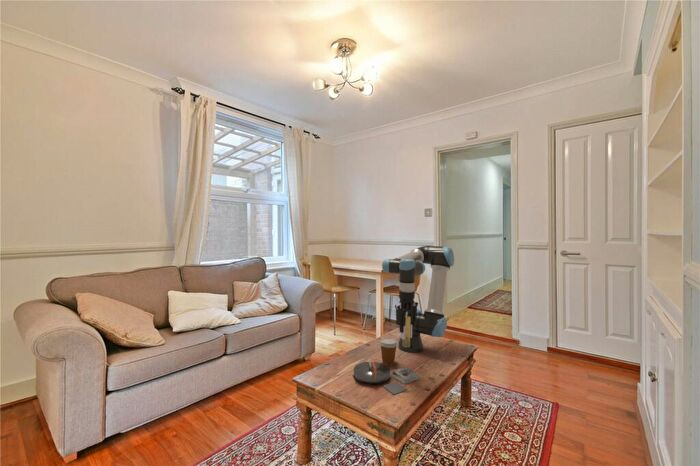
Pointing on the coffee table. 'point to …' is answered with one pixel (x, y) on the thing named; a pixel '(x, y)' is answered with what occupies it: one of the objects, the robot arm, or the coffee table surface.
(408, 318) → the yellow tall cylinder
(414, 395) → the coffee table surface
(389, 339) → the disposable coffee cup
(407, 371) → the grey square frame
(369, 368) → the compass
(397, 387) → the rest pad
